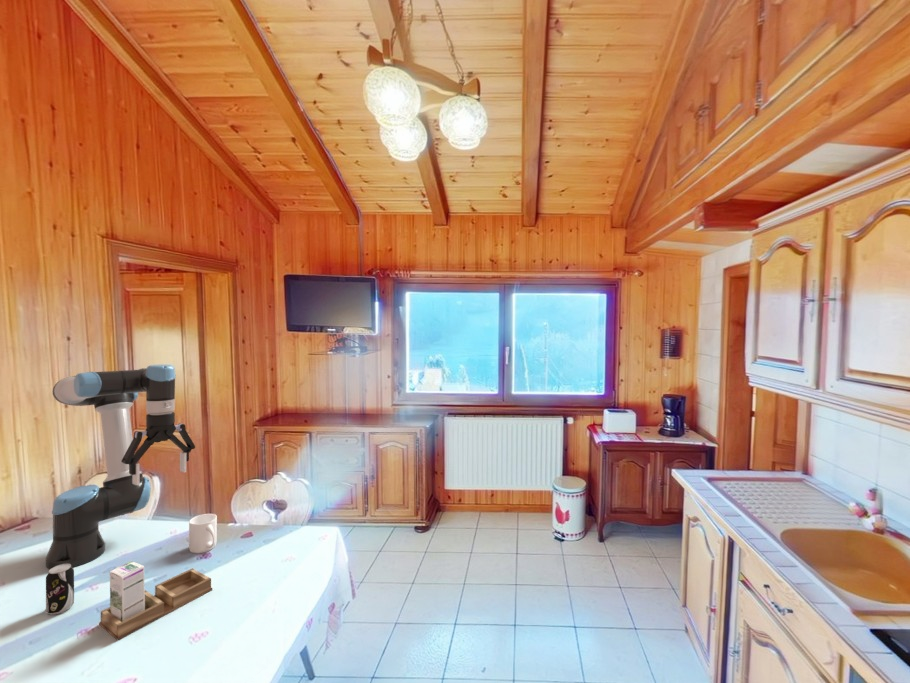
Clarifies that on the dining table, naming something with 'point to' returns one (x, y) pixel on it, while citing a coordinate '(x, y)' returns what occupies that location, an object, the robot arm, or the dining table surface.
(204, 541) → the mug
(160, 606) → the rack
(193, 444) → the robot arm
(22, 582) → the dining table surface
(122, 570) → the syrup box
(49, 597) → the beverage can
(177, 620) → the dining table surface
